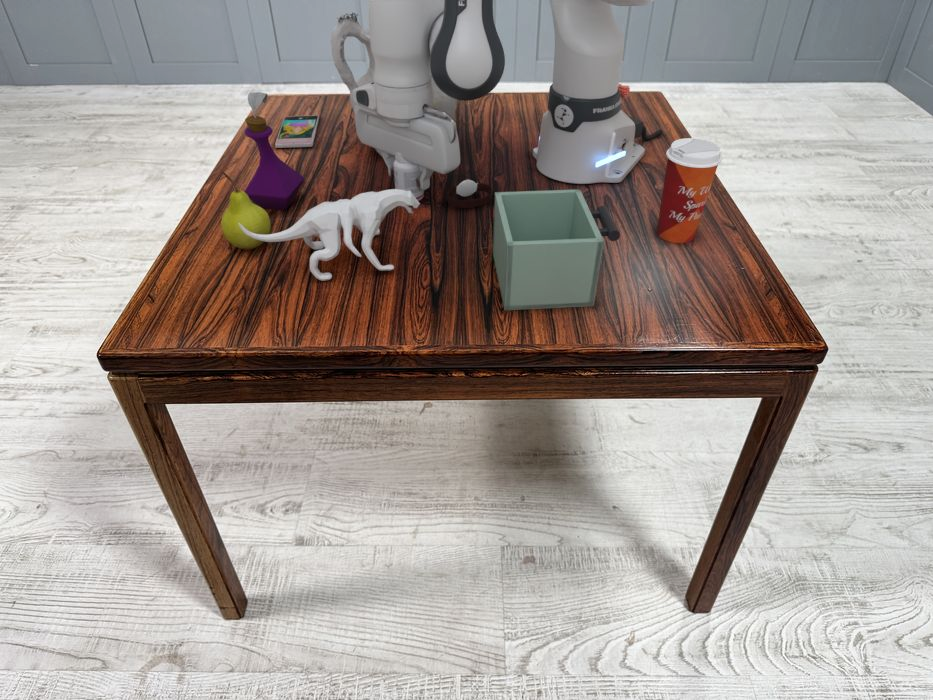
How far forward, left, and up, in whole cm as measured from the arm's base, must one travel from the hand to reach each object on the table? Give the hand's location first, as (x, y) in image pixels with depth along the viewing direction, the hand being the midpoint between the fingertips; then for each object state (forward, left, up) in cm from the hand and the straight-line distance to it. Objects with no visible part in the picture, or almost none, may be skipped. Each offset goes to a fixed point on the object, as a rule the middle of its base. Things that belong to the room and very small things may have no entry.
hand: (409, 182), depth 109 cm
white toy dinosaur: (+21, +6, -3) cm, 22 cm away
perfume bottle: (+16, -15, -3) cm, 22 cm away
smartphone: (-5, -36, -3) cm, 37 cm away
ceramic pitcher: (-13, -15, -3) cm, 20 cm away
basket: (+10, +27, +2) cm, 29 cm away
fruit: (+27, -7, -3) cm, 28 cm away
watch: (-5, +9, -3) cm, 11 cm away
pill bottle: (0, 0, -3) cm, 3 cm away
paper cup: (-18, +40, -3) cm, 44 cm away
